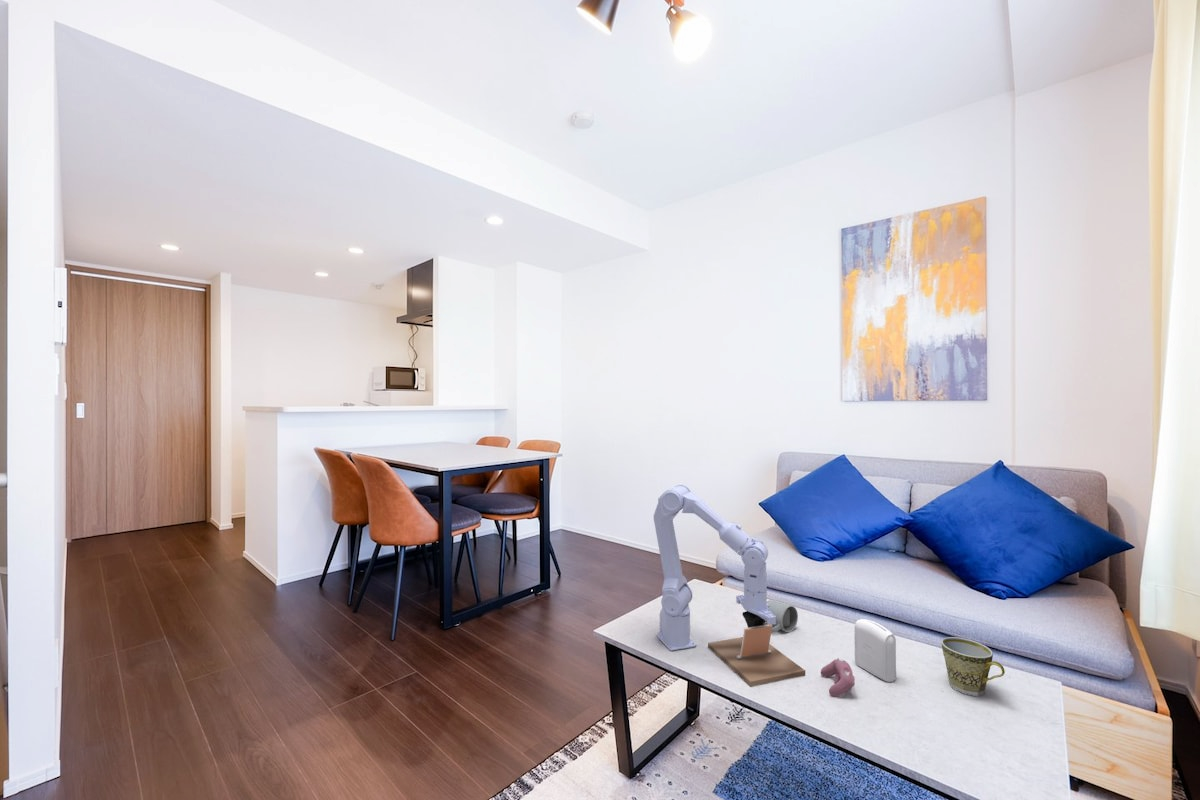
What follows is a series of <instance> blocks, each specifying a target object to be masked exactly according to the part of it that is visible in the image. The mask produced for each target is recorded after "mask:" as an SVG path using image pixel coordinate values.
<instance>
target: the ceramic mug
mask: <svg viewBox="0 0 1200 800" xmlns="http://www.w3.org/2000/svg"><path fill="white" fill-rule="evenodd" d="M767 603H768V604H769V605H770V607H769V610H770V611H771V612H772V614H773V615H774V616H776V624H773V625H772V631H771V634H775V633H776V632H778V631H783V632H785V633H791V632H793V631H794V630H795V628H796V626H797V625H798V620H799V619H798V618H799V613H798V610H797V608H796V607H795V606H794V605H792V604H788V603H784V602H781V601H779V600H775V599H769V600H767ZM765 623H767V621H766V622H765Z"/></svg>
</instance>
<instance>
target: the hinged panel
mask: <svg viewBox="0 0 1200 800" xmlns="http://www.w3.org/2000/svg"><path fill="white" fill-rule="evenodd" d="M772 628H773V626H772V625H769V624H764V625H761V626H755V627H749V628H748V627H744V628H743V629H744V630H743V636H742V637H743V641H742V647H741V653H740V655H738V656H737V659H741V658H742V657H744V656H749V655H755V654H760V653H766V652H767V654H768V653H771V650H768V649H769V644H770V642H771V636H772V633H771V631H772ZM741 656H742V657H741Z"/></svg>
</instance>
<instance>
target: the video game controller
mask: <svg viewBox="0 0 1200 800" xmlns="http://www.w3.org/2000/svg"><path fill="white" fill-rule="evenodd" d="M820 675H821V677H823V678H830V677H833V676H834V679H833V681H834V682H835V683H834V684H832V685H831V686H830V687H829V689H828V693H829V695H831V697H840V696H842V695H844V694H846V693H847V692H849V691H850V690H852V689H853V687H854V686H855V684H856V682H855V680H856V677H855V676H854V675H853V669H852V667H851V665H850V664H849V663H848V662H847V661H845V660H844V659H842V658H841V659H840V658H839V657H837V658H836V659H833V660H832V661H831V662H830V663H828V664H826V665H825V666H823V667H822V668H821V670H820Z"/></svg>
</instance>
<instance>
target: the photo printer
mask: <svg viewBox="0 0 1200 800" xmlns="http://www.w3.org/2000/svg"><path fill="white" fill-rule="evenodd" d="M854 662H855V664H856V665H857V666H858V667H860V668H862V669H863V670H865V671H867V672H868V673H869V674H871V675H872V676H873V675H874V676H875V677H877V678H879V679H880V680H882V681H884V682H887V683H889V682H890V683H891V682H894V681H895V680H896V678H897V639H896V636H895V635H894V634H893V633H892V632H891V631H890V630H889V629H887V628H886V627H885V626H883V625H882V624H880V623H878V622H877V621H873V620H870V619H864V618H861V619H857V621H856V622H855V624H854Z"/></svg>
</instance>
